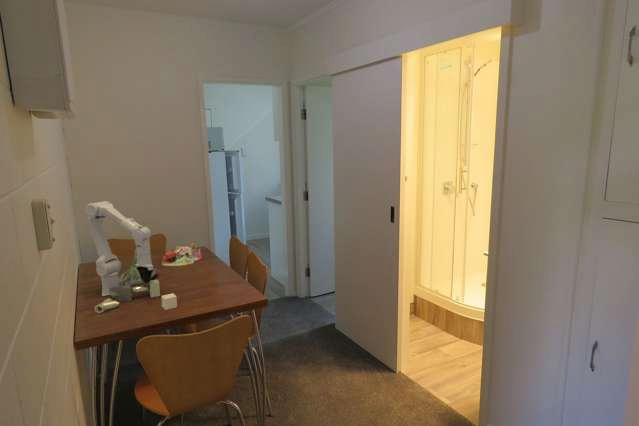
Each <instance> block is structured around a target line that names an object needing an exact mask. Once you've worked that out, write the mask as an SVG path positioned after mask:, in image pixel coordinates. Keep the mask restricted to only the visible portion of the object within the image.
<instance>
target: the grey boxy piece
mask: <svg viewBox="0 0 639 426" xmlns="http://www.w3.org/2000/svg"><path fill="white" fill-rule="evenodd" d="M131 288H132V286H130V285H126V286H119V287H113V288H109V290H110V295H109V298H110V299H112V300H113V301H116V302H118V303H119V304H120V303H121V304H122V303H125V302H132V301H133V298H132V293H131Z"/></svg>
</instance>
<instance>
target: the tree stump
mask: <svg viewBox="0 0 639 426" xmlns="http://www.w3.org/2000/svg"><path fill="white" fill-rule="evenodd" d="M133 251H134V254H133V260H132V264H131V265H130V266H129V267H128V269H127V270H126V271H125V272H124V273H121V274H120V275H121V276H118V277H119V286H126V285H130V286H131V287H136V286H140V285H141V286H142V285H143V282H142V279H141V276H140V274H139V272H138V270H137V269H136V267H139V266H135V264H137V261H136V260H137V249H136V248H135V249H134V250H133ZM157 274H158V270H157V269H155V268H154V270H153V272H152V274H151V279H150V281H151V280H152V279H153V278H154V277H155V276H156V275H157Z"/></svg>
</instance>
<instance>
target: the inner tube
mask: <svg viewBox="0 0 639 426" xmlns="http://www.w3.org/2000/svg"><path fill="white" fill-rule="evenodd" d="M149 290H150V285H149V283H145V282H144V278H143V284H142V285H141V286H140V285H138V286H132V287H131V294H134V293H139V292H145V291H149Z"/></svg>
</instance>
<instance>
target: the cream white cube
mask: <svg viewBox="0 0 639 426" xmlns="http://www.w3.org/2000/svg"><path fill="white" fill-rule="evenodd" d="M160 296H161V297H160V298H161V307H162V308H163V309H164V311H167V310H172V309H176V308H178V300H177V299H178V297H177V295H176V294H175V293H169V294H164V295H160Z"/></svg>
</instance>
